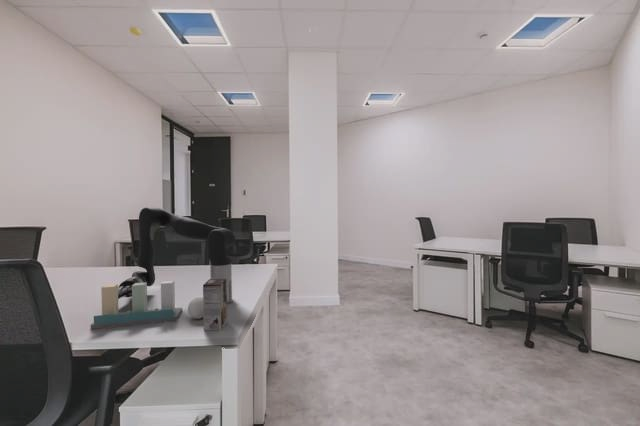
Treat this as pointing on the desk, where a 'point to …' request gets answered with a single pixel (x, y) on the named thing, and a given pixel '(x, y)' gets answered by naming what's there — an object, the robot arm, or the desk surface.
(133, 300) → the key sage
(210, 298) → the coffee box
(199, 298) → the ball
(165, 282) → the light grey tall block
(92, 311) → the desk surface
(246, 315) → the desk surface
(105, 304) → the block
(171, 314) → the keypad base
